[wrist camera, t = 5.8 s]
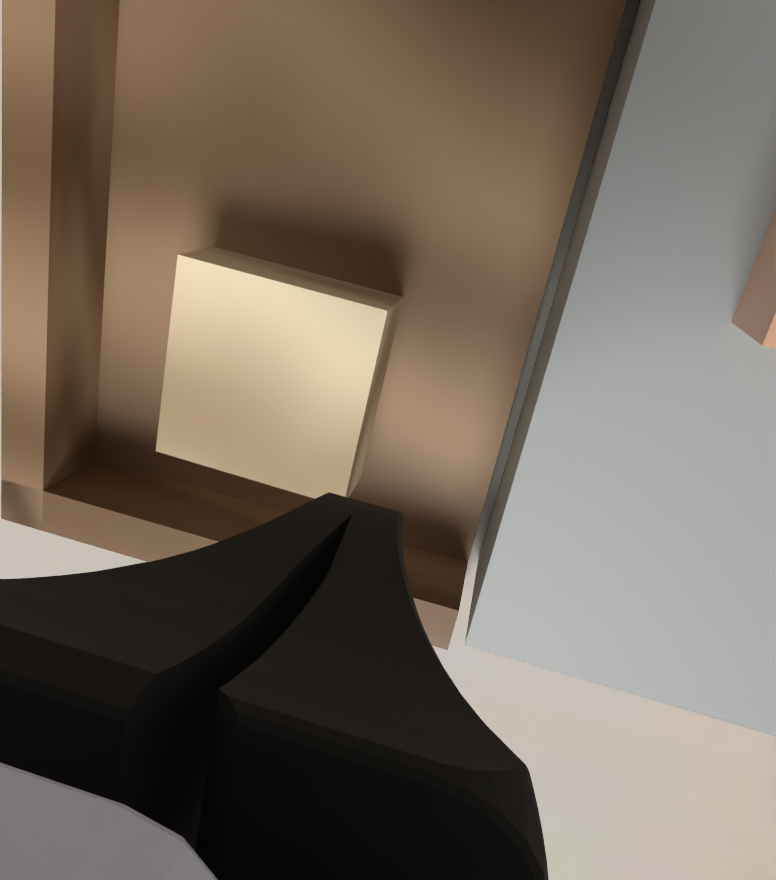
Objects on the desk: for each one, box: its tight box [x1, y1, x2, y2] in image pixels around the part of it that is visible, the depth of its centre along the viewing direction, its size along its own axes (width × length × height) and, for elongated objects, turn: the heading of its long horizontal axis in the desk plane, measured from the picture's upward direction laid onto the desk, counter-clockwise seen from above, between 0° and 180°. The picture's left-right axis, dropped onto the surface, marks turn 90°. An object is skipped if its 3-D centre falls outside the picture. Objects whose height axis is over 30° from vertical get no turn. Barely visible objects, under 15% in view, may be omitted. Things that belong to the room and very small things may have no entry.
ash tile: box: [156, 247, 403, 499], centre depth 18 cm, size 5×5×2 cm
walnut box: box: [1, 0, 627, 650], centre depth 17 cm, size 18×12×3 cm
